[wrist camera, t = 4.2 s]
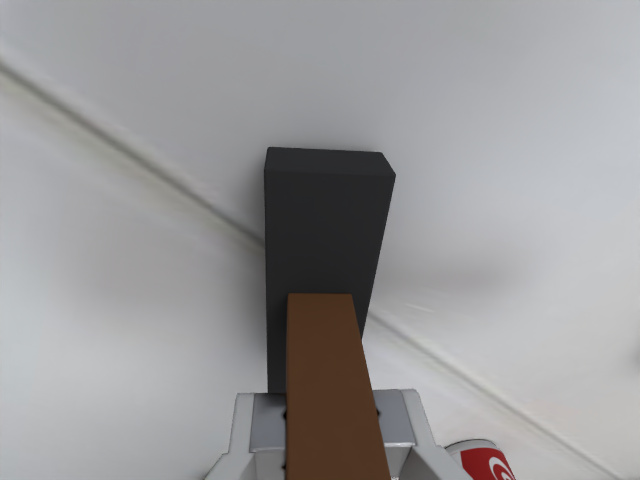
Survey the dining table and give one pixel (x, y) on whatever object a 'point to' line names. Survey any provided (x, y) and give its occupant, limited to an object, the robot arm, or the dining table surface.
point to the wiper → (324, 305)
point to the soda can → (481, 460)
